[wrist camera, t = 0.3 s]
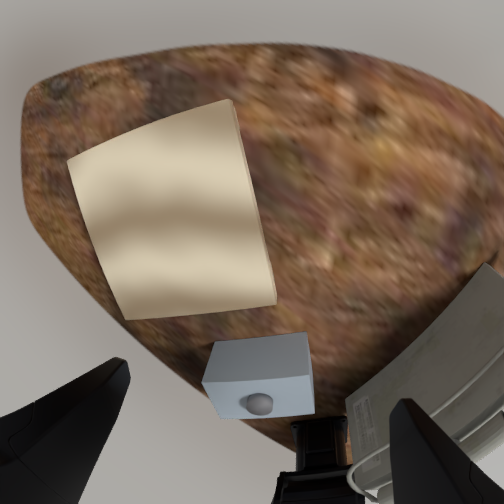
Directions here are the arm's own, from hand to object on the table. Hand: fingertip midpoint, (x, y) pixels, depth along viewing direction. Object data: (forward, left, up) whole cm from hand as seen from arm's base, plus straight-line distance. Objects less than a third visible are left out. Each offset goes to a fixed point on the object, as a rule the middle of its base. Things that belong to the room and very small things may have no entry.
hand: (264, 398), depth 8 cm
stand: (+3, +7, -14) cm, 15 cm away
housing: (-11, +3, -14) cm, 18 cm away
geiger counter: (-11, -13, -14) cm, 22 cm away
